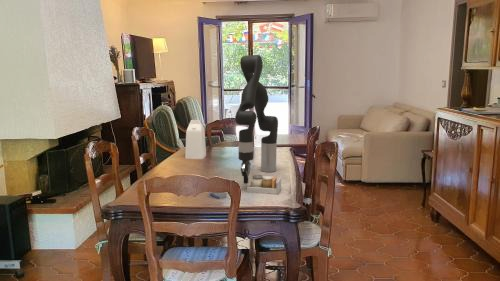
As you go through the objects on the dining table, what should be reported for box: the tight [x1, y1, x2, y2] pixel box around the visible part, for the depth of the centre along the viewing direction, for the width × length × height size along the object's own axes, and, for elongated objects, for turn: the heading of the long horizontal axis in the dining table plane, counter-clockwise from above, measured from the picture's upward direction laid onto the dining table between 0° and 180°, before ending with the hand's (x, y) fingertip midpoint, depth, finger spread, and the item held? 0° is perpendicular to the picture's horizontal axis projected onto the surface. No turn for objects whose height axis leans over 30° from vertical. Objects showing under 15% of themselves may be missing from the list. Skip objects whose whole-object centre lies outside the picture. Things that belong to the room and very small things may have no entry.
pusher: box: [272, 176, 278, 189], centre depth 201 cm, size 8×1×6 cm, turn 167°
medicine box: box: [209, 192, 227, 200], centre depth 191 cm, size 8×4×9 cm, turn 45°
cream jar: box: [251, 174, 263, 188], centre depth 203 cm, size 5×5×7 cm
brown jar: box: [262, 175, 274, 188], centre depth 201 cm, size 5×5×7 cm
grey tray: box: [246, 176, 282, 195], centre depth 202 cm, size 11×16×6 cm
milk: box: [184, 119, 207, 160], centre depth 276 cm, size 12×12×26 cm
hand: (245, 183), depth 204 cm, fingers closed
